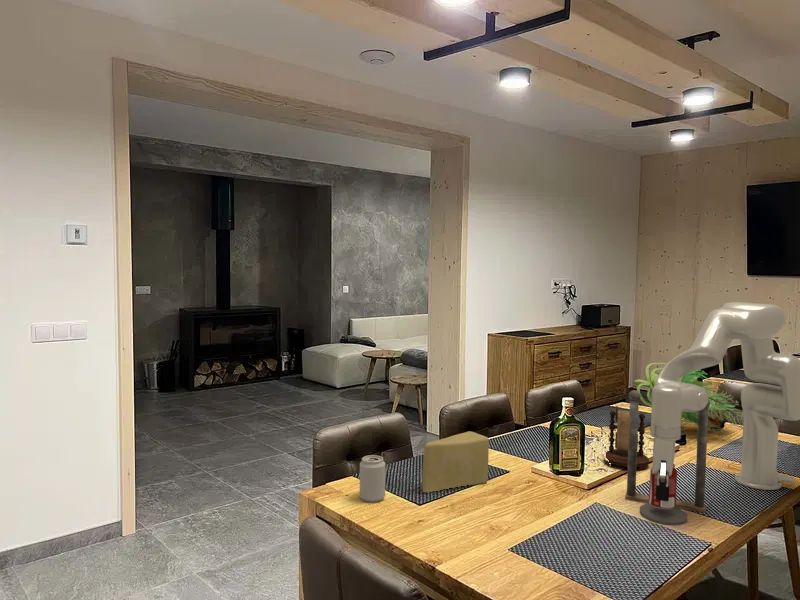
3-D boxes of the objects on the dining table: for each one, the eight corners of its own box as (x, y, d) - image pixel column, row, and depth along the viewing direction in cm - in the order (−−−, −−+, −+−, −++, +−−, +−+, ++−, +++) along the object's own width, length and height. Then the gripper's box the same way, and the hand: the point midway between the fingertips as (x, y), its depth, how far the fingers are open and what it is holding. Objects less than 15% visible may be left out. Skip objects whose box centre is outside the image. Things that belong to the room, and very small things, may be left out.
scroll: (601, 467, 204) (603, 409, 203) (604, 454, 218) (606, 400, 216) (648, 474, 198) (650, 414, 197) (648, 460, 212) (650, 404, 211)
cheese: (433, 499, 176) (434, 448, 175) (413, 488, 184) (414, 440, 183) (489, 483, 189) (490, 436, 188) (468, 474, 197) (469, 429, 196)
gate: (705, 508, 171) (710, 396, 169) (705, 512, 168) (710, 398, 166) (625, 495, 180) (629, 388, 178) (624, 499, 177) (628, 391, 175)
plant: (766, 429, 224) (671, 379, 223) (701, 476, 246) (614, 431, 245) (749, 367, 251) (664, 323, 250) (693, 415, 273) (614, 374, 272)
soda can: (678, 512, 162) (680, 468, 161) (651, 510, 163) (653, 466, 162) (672, 503, 168) (674, 460, 167) (646, 500, 169) (648, 458, 169)
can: (389, 495, 178) (389, 456, 178) (378, 505, 172) (378, 463, 171) (367, 491, 181) (367, 452, 181) (354, 500, 175) (355, 459, 174)
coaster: (687, 511, 169) (687, 507, 169) (687, 528, 158) (687, 524, 158) (641, 503, 174) (641, 500, 174) (638, 519, 163) (638, 516, 163)
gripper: (652, 422, 174) (649, 483, 175) (648, 437, 158) (645, 504, 159) (681, 425, 170) (678, 487, 171) (680, 441, 155) (677, 509, 156)
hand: (662, 495), depth 165 cm, fingers closed on soda can, 6 cm apart
